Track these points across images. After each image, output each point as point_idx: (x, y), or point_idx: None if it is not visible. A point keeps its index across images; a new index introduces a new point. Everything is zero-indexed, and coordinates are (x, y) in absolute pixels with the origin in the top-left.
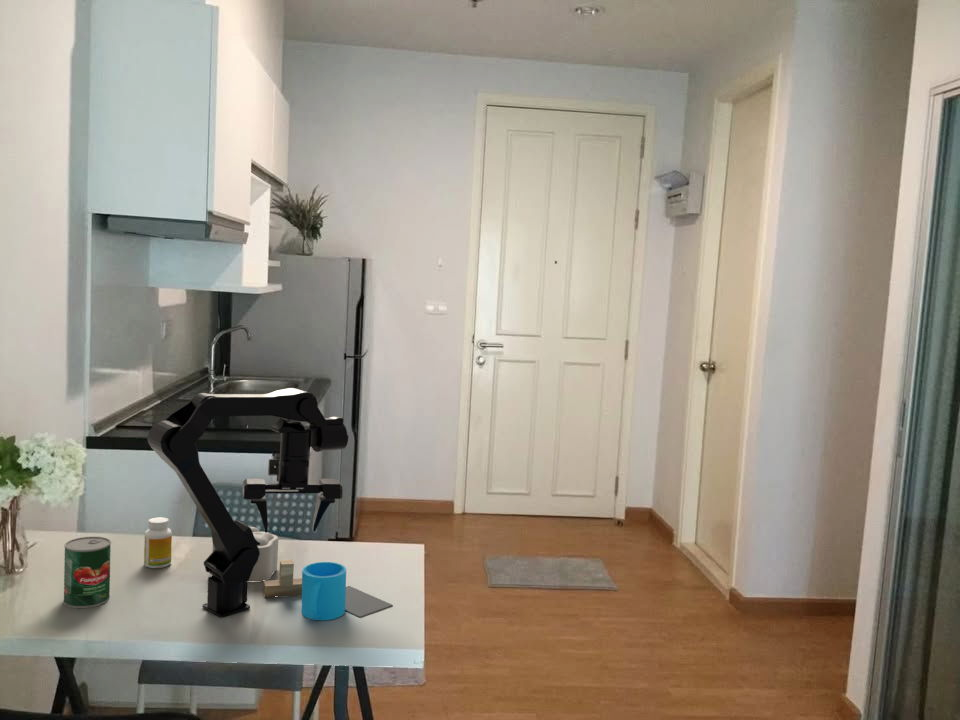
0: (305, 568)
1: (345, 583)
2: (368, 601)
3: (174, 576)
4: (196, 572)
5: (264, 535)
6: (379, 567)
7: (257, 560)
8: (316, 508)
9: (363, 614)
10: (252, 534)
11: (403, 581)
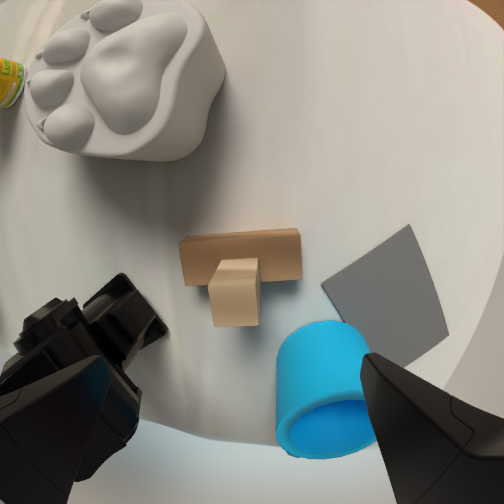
0: (286, 423)
1: None
2: (420, 320)
3: (27, 138)
4: None
5: (138, 61)
6: (475, 113)
7: (138, 404)
8: (423, 475)
9: None
10: (94, 470)
11: (499, 211)
